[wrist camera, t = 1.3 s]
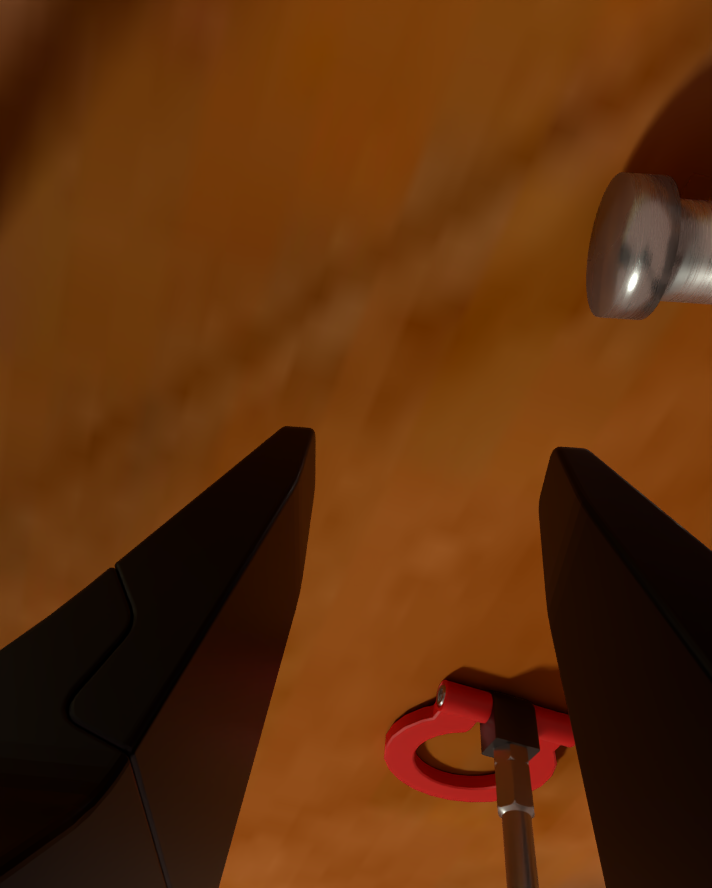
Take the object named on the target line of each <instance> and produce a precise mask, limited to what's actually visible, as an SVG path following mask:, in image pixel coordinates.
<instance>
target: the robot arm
mask: <svg viewBox="0 0 712 888" xmlns="http://www.w3.org/2000/svg"><path fill="white" fill-rule="evenodd" d="M314 491H315V432H314V430H313V429H311V428H304V427H291V426H285V427H282V428H281V429H279V430H278V431H277V432H276V433H275V434H273V435H272V436H271V437H270V438H268V439H267V440H266V441H265V442H264V443H262V444H261V445H260V446H259V447H257V448H256V449H255V450H254V451H253V452H251V453H250V454H249V455H248V456H246V457H245V458H244V459H243V460H242V461H240V462H239V463H238V464H237V465H235V466H234V467H233V468H232V469H231V470H229V471H228V472H227V473H226V474H224V475H223V476H222V477H221V478H220V479H218V480H217V481H216V482H215V483H213V484H212V485H211V486H210V487H208V488H207V489H206V490H205V491H204V492H202V493H201V494H200V495H199V496H197V497H196V498H195V499H194V500H193V501H191V502H190V503H189V504H188V505H186V506H185V507H184V508H183V509H182V510H180V511H179V512H178V513H177V514H175V515H174V516H173V517H172V518H171V519H169V520H168V521H167V522H166V523H164V524H163V525H162V526H161V527H160V528H158V529H157V530H156V531H155V532H153V533H152V534H151V535H150V536H148V537H147V538H146V539H145V540H144V541H142V542H141V543H140V544H139V545H137V546H136V547H135V548H134V549H133V550H131V551H130V552H129V553H128V554H126V555H125V556H124V557H123V558H122V559H120V560H119V561H118V562H117V563H116V564H115V568H109V569H108V570H106V571H105V572H104V573H103V574H102V575H100V576H99V577H98V578H97V579H95V580H94V581H93V582H92V583H91V584H89V585H88V586H87V587H86V588H84V589H83V590H82V591H80V592H79V593H78V594H77V595H75V596H74V597H73V598H71V599H70V600H69V601H68V602H66V603H65V604H64V605H62V606H61V607H60V608H58V609H57V610H56V611H55V612H53V613H52V614H51V615H49V616H48V617H47V618H45V619H44V620H42V621H41V622H40V623H38V624H37V625H35V626H34V627H32V628H31V629H30V630H28V631H27V632H25V633H24V634H23V635H21V636H20V637H18V638H17V639H15V640H14V641H13V642H11V643H10V644H8V645H7V646H6V647H4V648H3V649H1V650H0V888H219V884H220V881H221V877H222V873H223V870H224V866H225V863H226V859H227V855H228V852H229V848H230V845H231V841H232V837H233V834H234V830H235V826H236V823H237V819H238V816H239V812H240V808H241V805H242V801H243V798H244V794H245V790H246V787H247V783H248V780H249V776H250V772H251V769H252V765H253V762H254V758H255V754H256V751H257V747H258V744H259V740H260V736H261V733H262V729H263V725H264V722H265V718H266V715H267V711H268V707H269V704H270V700H271V697H272V693H273V689H274V686H275V682H276V679H277V675H278V671H279V668H280V664H281V661H282V657H283V653H284V650H285V646H286V643H287V639H288V635H289V632H290V628H291V624H292V621H293V617H294V614H295V610H296V606H297V602H298V598H299V594H300V589H301V583H302V577H303V571H304V564H305V556H306V549H307V542H308V535H309V528H310V520H311V513H312V506H313V499H314ZM539 521H540V533H541V545H542V556H543V568H544V580H545V592H546V602H547V612H548V618H549V623H550V629H551V634H552V638H553V643H554V648H555V652H556V657H557V662H558V666H559V671H560V676H561V680H562V685H563V690H564V694H565V699H566V704H567V708H568V713H569V718H570V722H571V727H572V732H573V736H574V741H575V746H576V750H577V755H578V760H579V764H580V769H581V774H582V778H583V783H584V787H585V792H586V797H587V801H588V806H589V811H590V815H591V820H592V825H593V829H594V834H595V839H596V843H597V848H598V853H599V857H600V862H601V867H602V871H603V876H604V881H605V885H606V888H712V551H711V550H710V549H708V548H707V547H706V546H705V545H704V544H702V543H701V542H700V541H699V540H697V539H696V538H695V537H694V536H693V535H691V534H690V533H689V532H688V531H687V530H685V529H684V528H683V527H682V526H680V525H679V524H678V523H677V522H676V521H674V520H673V519H672V518H671V517H670V516H668V515H667V514H666V513H665V512H663V511H662V510H661V509H660V508H659V507H657V506H656V505H655V504H654V503H652V502H651V501H650V500H649V499H648V498H646V497H645V496H644V495H643V494H642V493H640V492H639V491H638V490H637V489H635V488H634V487H633V486H632V485H631V484H629V483H628V482H627V481H626V480H624V479H623V478H622V477H621V476H620V475H618V474H617V473H616V472H615V471H614V470H612V469H611V468H610V467H609V466H607V465H606V464H605V463H604V462H603V461H601V460H600V459H599V458H598V457H596V456H595V455H594V454H593V453H592V452H590V451H589V450H587V449H584V448H571V447H557V448H555V449H554V450H553V452H552V454H551V456H550V460H549V463H548V467H547V471H546V475H545V479H544V483H543V487H542V491H541V495H540V500H539Z"/></svg>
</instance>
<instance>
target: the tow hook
mask: <svg viewBox="0 0 712 888" xmlns="http://www.w3.org/2000/svg"><path fill="white" fill-rule="evenodd" d="M476 722H480V732H481V750H482V754H483V755H486V756H489V757H493V758H494V763H495V774H489V775H478V776H467V775H456V774H452V773H447V772H443V771H440V770H438V769H435V768H433V767H431V766H429V765H428V764H426V763H425V762H423V761H422V760H421V759H420V758H419V757H418V756H417V754H416V750H417V748H418V747H419V745H421V744H422V743H423V742H425V741H426V740H428V739H431V738H433V737H436V736H438V735H444V734H449V733H459V732H466V731H469V730H470V729H471V728H472V727H473V726H474V724H475V723H476ZM560 745H563V746H566V747H573V746H574V745H575V741H574V736H573V732H572V727H571V722H570V718H569V715H568V714H564V713H560V712H557V711H553V710H550V709H546V708H543V707H539V706H536V705H533V704H532V703H531V702H530V701H527V700H523V699H520V698H516V697H513V696H509V695H506V694H502V693H499V692H495V691H488V692H487V691H483V690H479V689H476V688H472V687H469V686H465V685H462V684H458V683H455V682H451V681H448V680H443V681H442V682H441V684H440V686H439V688H438V691H437V696H436V702H435V704H434V705H432V706H428V707H423V708H421V709H418V710H416V711H414V712H411V713H409V714H406V715H405V716H403V717H402V718H401V719H399V720H398V721H397V722H395V723H394V724H393V725H392V726H391V728H390V730H389V731H388V733H387V734H386V741H385V755H384V759H385V761H386V763H387V766H388V768H389V770H390V771H391V772H392V773H393V774H394V775H395V776H396V777H397V778H398V779H399V780H400V781H402V782H404V783H405V784H407V785H408V786H410V787H412V788H413V789H415V790H418V791H421V792H423V793H426V794H428V795H431V796H435V797H439V798H444V799H448V800H455V801H464V802H492V801H497V807H498V814H499V817H501V818H502V826H503V840H504V854H505V867H506V881H507V888H539V884H538V874H537V865H536V856H535V846H534V837H533V827H532V818H533V817H534V806H533V796H532V791H533V790H535V789H537V788H538V787H540V786H542V785H543V784H544V783H545V782H546V781H547V780H548V779H549V778H550V777H551V776H552V775H553V773H554V770H555V768H556V765H557V762H556V754H555V750H556V749H557V748H558V747H559V746H560Z"/></svg>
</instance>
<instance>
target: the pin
mask: <svg viewBox="0 0 712 888" xmlns="http://www.w3.org/2000/svg"><path fill="white" fill-rule="evenodd" d="M586 287H587V298H588V303H589V307H590V309H591V312H592V313H593V315H595V316H596V317H603V318H618V319H632V320H642V319H644V318H646V317H647V316H649V315H650V314H651V313H652V312H653V310H654V309H655V308H656V306H657V305H658V303H659V301H670V302H685V303H699V304H712V201H709V200H693V199H680V195H679V191H678V187H677V185H676V183H675V181H674V179H673V178H672V177H670V176H669V175H658V174H641V173H625V172H621V173H619V174H617V175H616V176H615V177H614V178H613V179H612V181H611V182H610V183H609V185H608V187H607V189H606V191H605V193H604V195H603V197H602V200H601V202H600V205H599V208H598V211H597V214H596V218H595V221H594V225H593V230H592V234H591V239H590V245H589V251H588V259H587V273H586Z"/></svg>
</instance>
